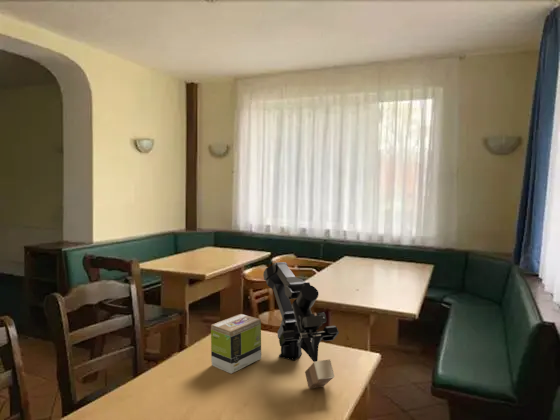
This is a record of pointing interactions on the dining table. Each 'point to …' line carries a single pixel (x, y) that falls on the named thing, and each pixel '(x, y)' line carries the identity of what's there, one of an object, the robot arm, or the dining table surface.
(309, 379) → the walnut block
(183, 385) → the dining table surface
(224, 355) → the tea box
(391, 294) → the dining table surface
